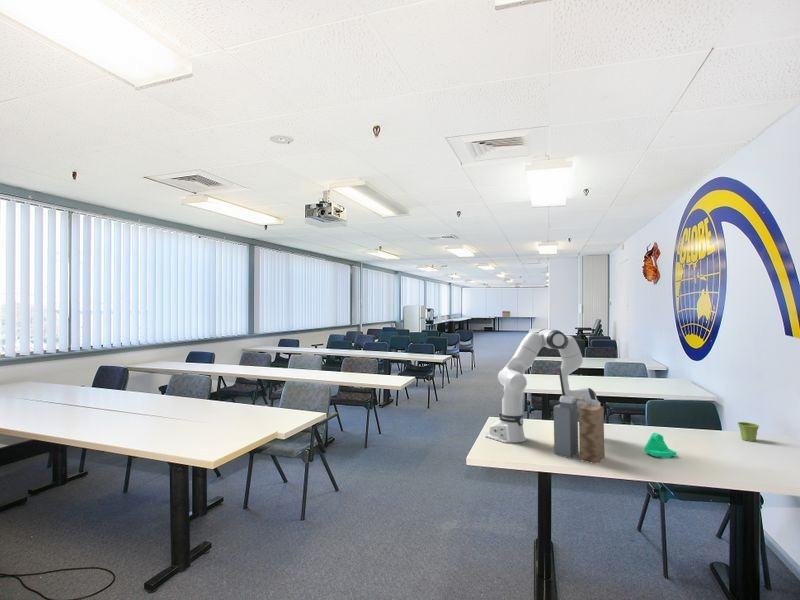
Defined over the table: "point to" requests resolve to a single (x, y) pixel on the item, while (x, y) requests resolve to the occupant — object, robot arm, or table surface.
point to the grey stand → (565, 431)
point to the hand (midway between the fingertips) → (574, 397)
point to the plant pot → (748, 431)
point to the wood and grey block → (568, 402)
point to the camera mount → (658, 447)
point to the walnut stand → (591, 433)
